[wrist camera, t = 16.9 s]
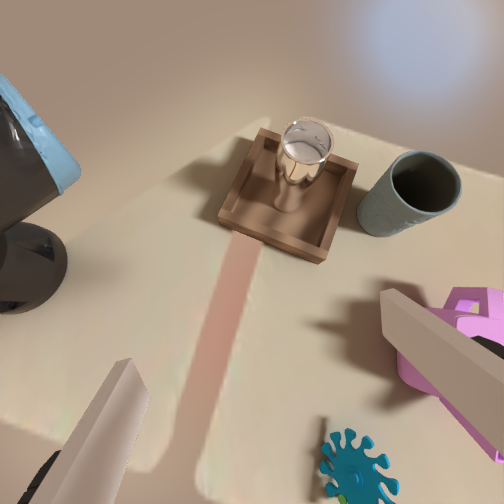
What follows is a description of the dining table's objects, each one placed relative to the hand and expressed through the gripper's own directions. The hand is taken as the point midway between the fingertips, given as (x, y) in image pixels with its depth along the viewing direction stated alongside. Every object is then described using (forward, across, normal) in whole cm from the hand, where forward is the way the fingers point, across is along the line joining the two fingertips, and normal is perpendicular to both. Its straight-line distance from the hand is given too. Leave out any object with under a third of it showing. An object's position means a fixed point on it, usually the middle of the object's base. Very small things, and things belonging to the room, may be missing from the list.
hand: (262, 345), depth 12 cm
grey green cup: (+32, +26, -4) cm, 41 cm away
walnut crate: (+34, +10, +2) cm, 36 cm away
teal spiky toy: (+12, +6, -34) cm, 37 cm away
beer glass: (+33, +10, +3) cm, 35 cm away
